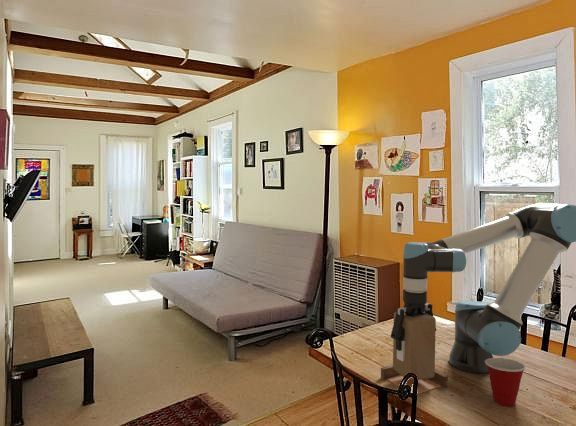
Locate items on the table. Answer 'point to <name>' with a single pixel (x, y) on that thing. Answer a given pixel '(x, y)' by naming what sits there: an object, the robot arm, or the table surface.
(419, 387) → the tile
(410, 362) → the block
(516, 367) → the plastic cup
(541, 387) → the table surface
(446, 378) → the arena
